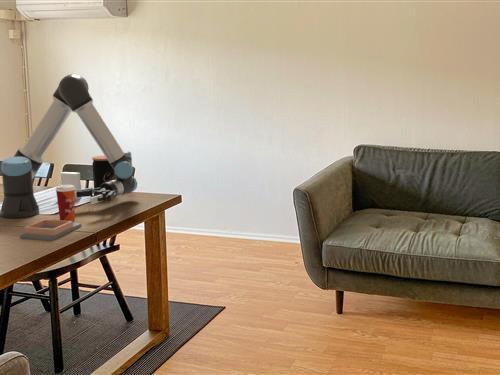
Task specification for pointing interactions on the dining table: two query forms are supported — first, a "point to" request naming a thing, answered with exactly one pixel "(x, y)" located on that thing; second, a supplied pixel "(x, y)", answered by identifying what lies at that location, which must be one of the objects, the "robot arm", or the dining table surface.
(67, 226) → the cup stand
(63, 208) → the paper cup
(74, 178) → the cylinder with rectangular tab
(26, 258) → the dining table surface
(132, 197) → the dining table surface
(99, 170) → the coffee jar
